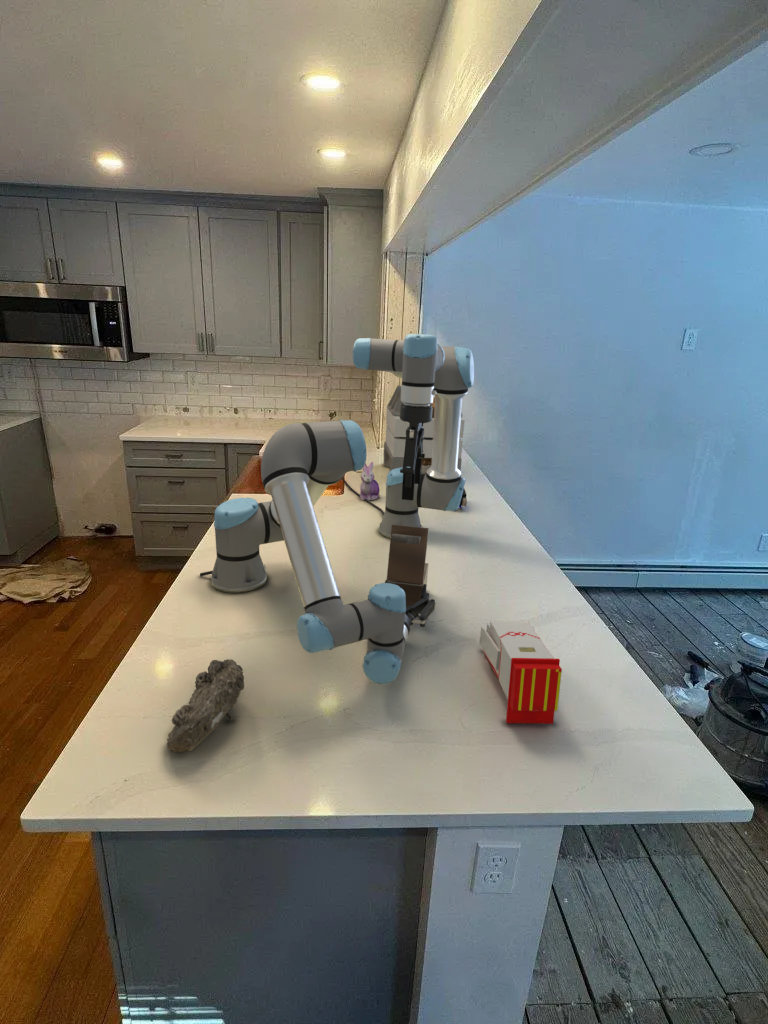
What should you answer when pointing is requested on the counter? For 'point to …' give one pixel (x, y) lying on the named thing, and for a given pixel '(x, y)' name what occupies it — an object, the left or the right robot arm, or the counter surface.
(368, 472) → the figurine
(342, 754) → the counter surface
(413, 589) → the chest
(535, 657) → the toy
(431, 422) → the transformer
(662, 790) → the counter surface
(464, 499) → the figurine character
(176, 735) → the fossil
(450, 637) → the counter surface
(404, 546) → the lid
